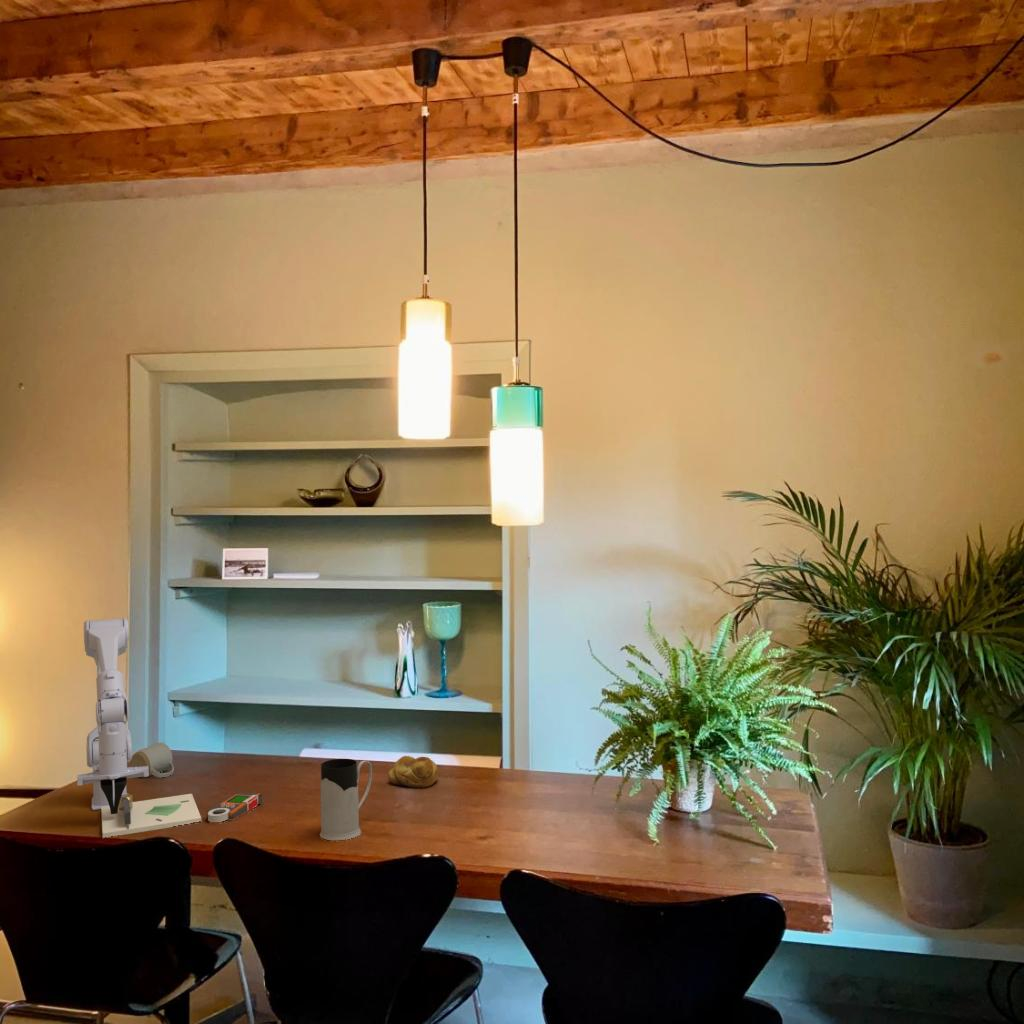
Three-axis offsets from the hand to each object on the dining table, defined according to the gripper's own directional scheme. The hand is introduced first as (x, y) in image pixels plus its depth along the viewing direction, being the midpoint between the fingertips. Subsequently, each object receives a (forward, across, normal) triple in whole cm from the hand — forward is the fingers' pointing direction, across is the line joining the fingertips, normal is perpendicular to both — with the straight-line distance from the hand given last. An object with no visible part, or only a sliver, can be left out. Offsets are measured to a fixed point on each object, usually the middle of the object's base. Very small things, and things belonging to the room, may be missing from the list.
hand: (114, 812), depth 200 cm
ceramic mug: (+3, +11, +37) cm, 39 cm away
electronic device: (+3, +25, -5) cm, 26 cm away
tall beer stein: (+3, +46, -30) cm, 55 cm away
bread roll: (+3, +69, -4) cm, 69 cm away
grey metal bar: (+1, +3, 0) cm, 3 cm away
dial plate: (+2, +8, +1) cm, 8 cm away
